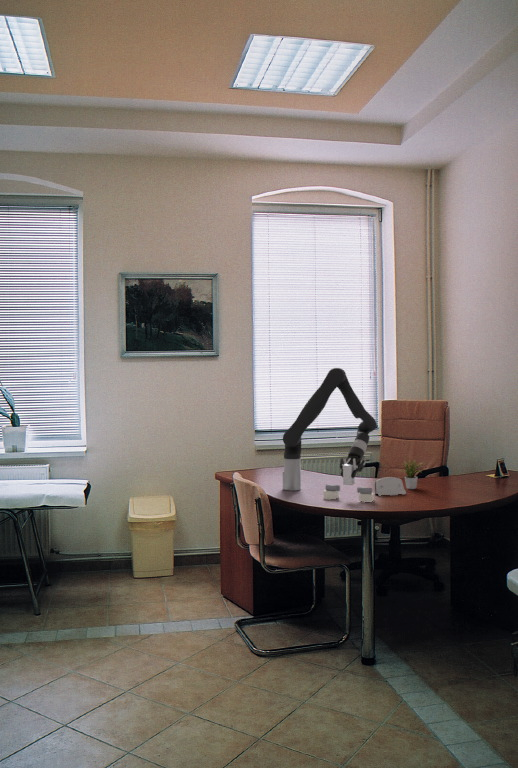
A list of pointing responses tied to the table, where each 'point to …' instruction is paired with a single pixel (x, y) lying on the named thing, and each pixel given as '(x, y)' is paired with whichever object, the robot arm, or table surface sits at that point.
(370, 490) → the white and grey block
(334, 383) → the robot arm
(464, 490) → the table surface
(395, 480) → the grey rounded block
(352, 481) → the coupler
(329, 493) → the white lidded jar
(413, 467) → the house plant
